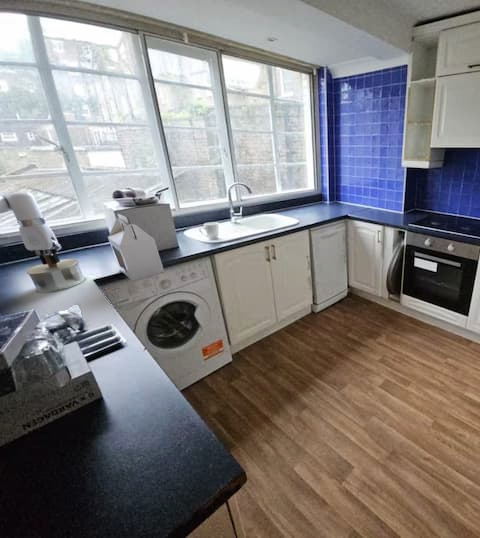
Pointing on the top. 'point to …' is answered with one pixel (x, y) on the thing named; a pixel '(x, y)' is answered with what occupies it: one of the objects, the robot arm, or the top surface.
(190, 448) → the top surface
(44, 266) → the caddy lid
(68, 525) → the top surface
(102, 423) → the top surface
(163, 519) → the top surface
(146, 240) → the gable box
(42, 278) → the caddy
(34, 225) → the robot arm
